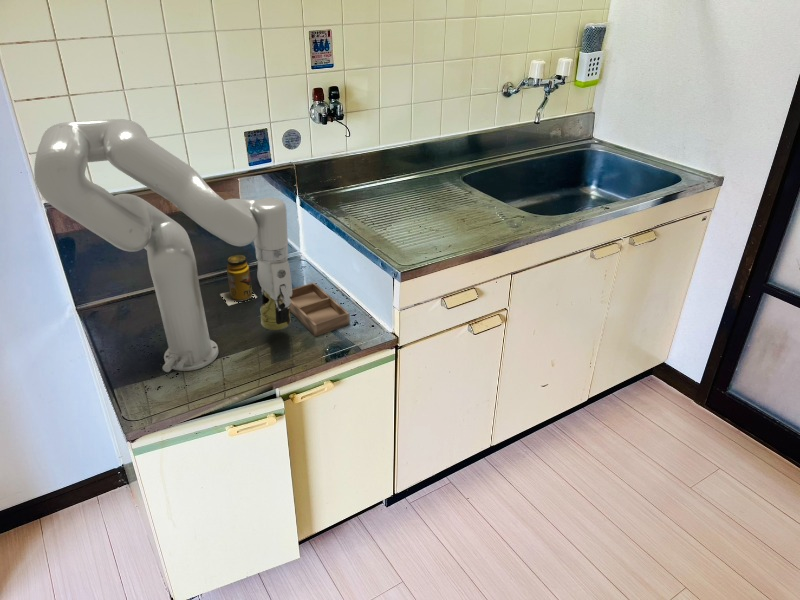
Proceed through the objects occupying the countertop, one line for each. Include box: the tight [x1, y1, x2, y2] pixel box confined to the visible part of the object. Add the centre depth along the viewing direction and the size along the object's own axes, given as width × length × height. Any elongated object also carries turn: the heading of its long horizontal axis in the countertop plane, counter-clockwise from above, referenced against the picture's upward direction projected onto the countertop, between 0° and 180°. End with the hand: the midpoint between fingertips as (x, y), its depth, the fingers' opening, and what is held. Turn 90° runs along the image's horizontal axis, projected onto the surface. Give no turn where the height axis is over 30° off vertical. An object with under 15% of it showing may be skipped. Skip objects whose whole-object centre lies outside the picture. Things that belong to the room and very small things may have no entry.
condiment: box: [219, 254, 258, 307], centre depth 168 cm, size 7×8×12 cm
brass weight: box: [259, 291, 292, 331], centre depth 149 cm, size 7×7×10 cm
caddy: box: [282, 282, 351, 337], centre depth 163 cm, size 20×10×4 cm, turn 35°
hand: (275, 314), depth 150 cm, fingers closed on brass weight, 7 cm apart
